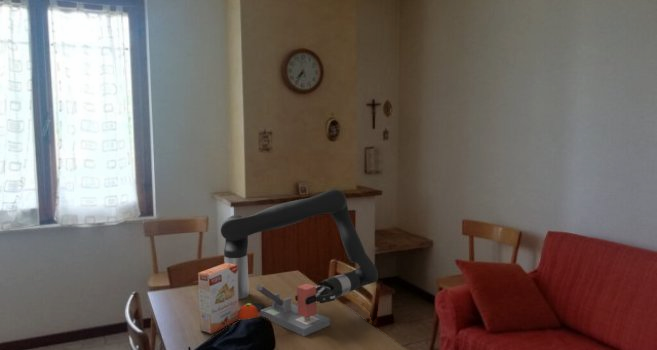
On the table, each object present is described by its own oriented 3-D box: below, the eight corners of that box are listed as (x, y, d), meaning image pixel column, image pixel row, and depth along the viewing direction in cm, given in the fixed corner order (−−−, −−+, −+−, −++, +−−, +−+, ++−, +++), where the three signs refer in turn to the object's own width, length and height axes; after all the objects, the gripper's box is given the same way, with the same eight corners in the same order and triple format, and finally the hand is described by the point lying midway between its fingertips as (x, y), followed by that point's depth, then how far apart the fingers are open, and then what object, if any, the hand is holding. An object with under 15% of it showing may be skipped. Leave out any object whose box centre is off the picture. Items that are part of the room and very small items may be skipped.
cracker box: (212, 335, 166) (209, 275, 164) (199, 331, 169) (196, 272, 167) (240, 320, 178) (238, 264, 176) (228, 316, 181) (225, 261, 179)
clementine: (241, 318, 180) (241, 299, 179) (260, 318, 179) (259, 299, 179) (237, 327, 172) (236, 308, 171) (256, 327, 172) (256, 308, 171)
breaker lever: (278, 305, 183) (254, 288, 174) (280, 301, 183) (257, 284, 175) (285, 308, 180) (261, 291, 171) (288, 304, 180) (264, 286, 172)
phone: (229, 317, 179) (248, 302, 193) (229, 320, 180) (249, 304, 194) (247, 320, 177) (266, 304, 191) (247, 322, 177) (266, 306, 191)
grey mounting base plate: (260, 316, 181) (259, 296, 180) (285, 307, 189) (285, 288, 188) (304, 336, 164) (303, 314, 163) (329, 325, 172) (329, 304, 171)
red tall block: (298, 314, 171) (297, 286, 170) (307, 310, 174) (306, 283, 173) (306, 318, 168) (305, 289, 167) (316, 314, 171) (315, 286, 170)
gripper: (321, 272, 185) (287, 284, 173) (349, 281, 175) (314, 294, 163) (322, 292, 186) (287, 305, 174) (350, 301, 176) (315, 316, 164)
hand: (301, 299), depth 168 cm, fingers closed on red tall block, 4 cm apart
